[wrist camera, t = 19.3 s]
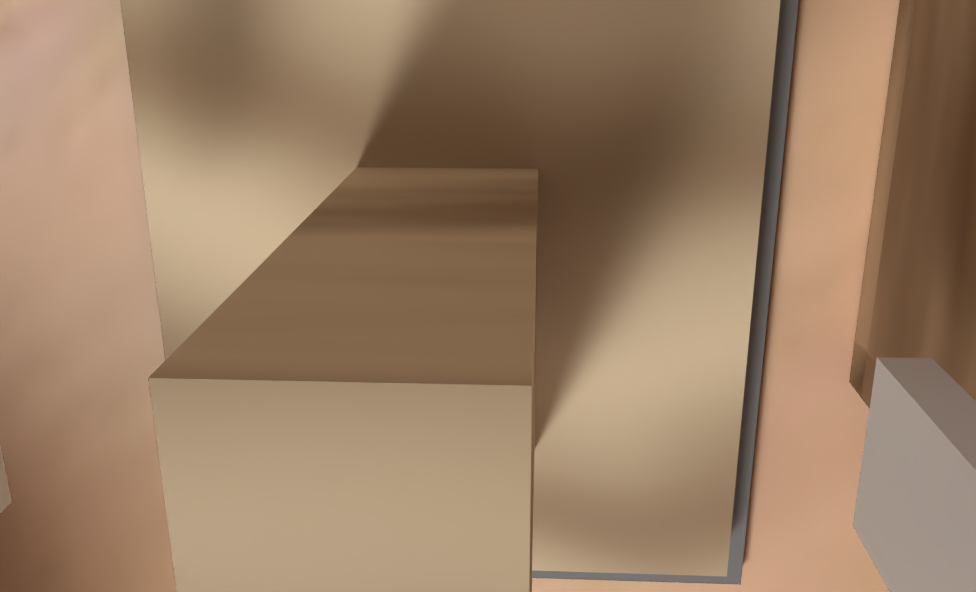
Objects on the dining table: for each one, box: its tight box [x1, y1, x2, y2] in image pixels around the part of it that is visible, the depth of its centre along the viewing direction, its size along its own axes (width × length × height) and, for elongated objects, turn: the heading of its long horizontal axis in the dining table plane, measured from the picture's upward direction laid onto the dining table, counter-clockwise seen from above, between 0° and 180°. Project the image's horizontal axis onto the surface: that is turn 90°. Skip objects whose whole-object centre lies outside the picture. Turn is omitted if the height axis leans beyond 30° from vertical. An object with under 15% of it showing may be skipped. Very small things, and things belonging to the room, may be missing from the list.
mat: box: [532, 0, 799, 584], centre depth 19 cm, size 13×22×1 cm, turn 0°
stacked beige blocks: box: [120, 0, 780, 592], centre depth 13 cm, size 20×12×11 cm, turn 0°
